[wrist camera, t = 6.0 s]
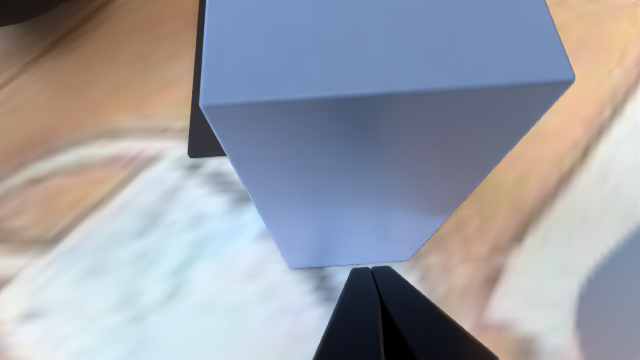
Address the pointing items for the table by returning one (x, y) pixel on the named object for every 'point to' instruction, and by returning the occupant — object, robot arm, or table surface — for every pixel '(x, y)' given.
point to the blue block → (372, 112)
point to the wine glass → (23, 10)
